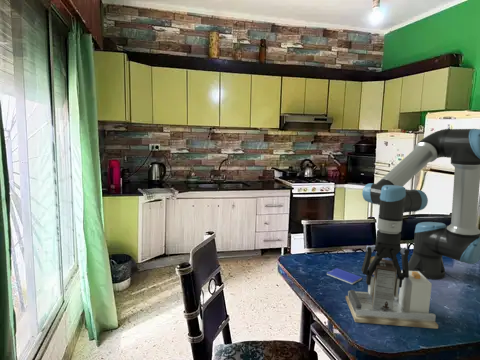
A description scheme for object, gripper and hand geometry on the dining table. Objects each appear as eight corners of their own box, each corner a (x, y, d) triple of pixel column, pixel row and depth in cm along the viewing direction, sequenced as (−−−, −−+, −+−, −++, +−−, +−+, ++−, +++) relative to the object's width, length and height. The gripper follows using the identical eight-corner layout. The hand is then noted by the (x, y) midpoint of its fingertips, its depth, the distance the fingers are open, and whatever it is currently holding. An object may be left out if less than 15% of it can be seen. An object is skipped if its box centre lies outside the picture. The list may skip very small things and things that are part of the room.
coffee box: (371, 299, 123) (375, 257, 121) (390, 303, 121) (394, 260, 119) (372, 312, 114) (376, 267, 112) (392, 316, 112) (397, 270, 110)
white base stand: (418, 302, 123) (419, 293, 123) (434, 322, 110) (436, 312, 109) (347, 297, 126) (348, 288, 125) (356, 316, 113) (356, 306, 112)
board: (417, 303, 125) (418, 300, 124) (438, 328, 109) (438, 325, 109) (345, 298, 127) (345, 295, 127) (355, 322, 112) (355, 318, 111)
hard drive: (326, 272, 149) (352, 282, 139) (337, 267, 154) (362, 276, 145) (326, 275, 149) (352, 285, 140) (336, 270, 154) (362, 280, 145)
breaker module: (415, 302, 122) (419, 268, 120) (427, 318, 112) (432, 280, 110) (398, 301, 122) (401, 267, 120) (409, 316, 112) (412, 279, 110)
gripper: (360, 232, 111) (354, 297, 115) (425, 236, 109) (418, 302, 112) (355, 226, 119) (349, 287, 122) (416, 230, 117) (409, 292, 120)
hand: (382, 294), depth 117 cm, fingers open, 8 cm apart
